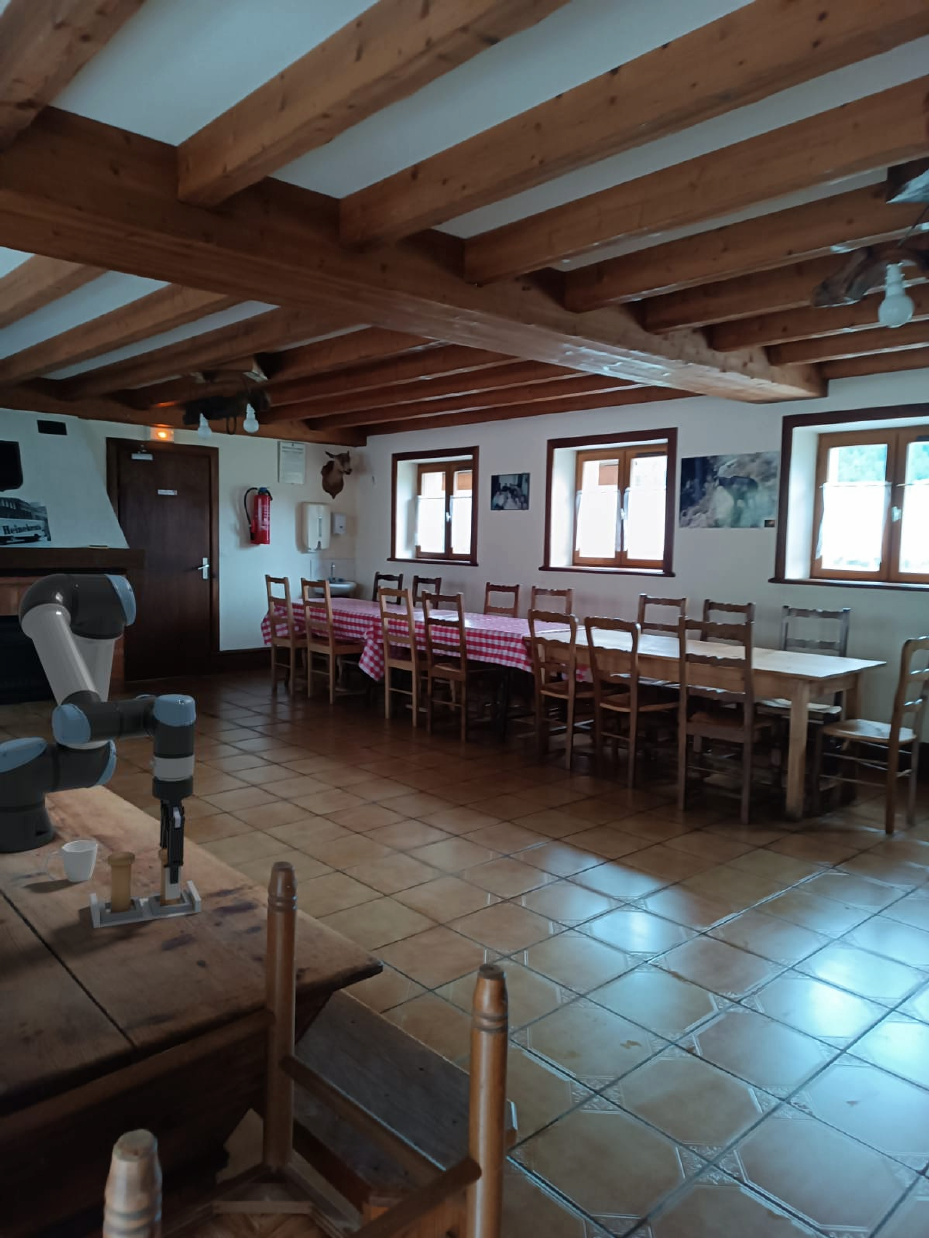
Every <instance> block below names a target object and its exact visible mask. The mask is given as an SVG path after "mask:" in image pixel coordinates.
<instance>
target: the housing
mask: <svg viewBox="0 0 929 1238" xmlns="http://www.w3.org/2000/svg"><path fill="white" fill-rule="evenodd" d="M89 909H90V914H91V919H92V920H91V921H92V924H93V928H94V929H97V928H102V927H103V928H104V927H111V926H118V925H124V924H130V923H137V922H144V921H151V920H159V919H164V918H171V917H172V918H173V917H177V916H178V917H179V916H185V915H191V914H199V913H202V898H201V897H200V895H199V892H198V890H197V889H196V886H195V884H194V882H193V880H187V881H186V889H184V890H183V889H180V904H175V905H168V906H161V907H160V892H159V893H154V894H153V893H152V894H147V897H145V898H140V897H139V895H138V896H131V911H125V912H118V913H111V914H110V899H109V900H108V899H107V900H102V901H101V900H100V901H98V897H97V893H96V892H94V893H89Z"/></svg>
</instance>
